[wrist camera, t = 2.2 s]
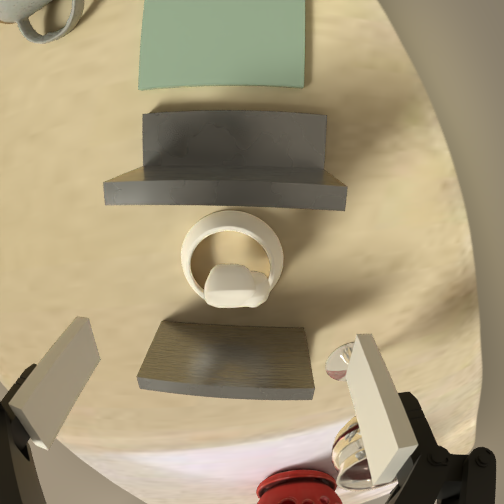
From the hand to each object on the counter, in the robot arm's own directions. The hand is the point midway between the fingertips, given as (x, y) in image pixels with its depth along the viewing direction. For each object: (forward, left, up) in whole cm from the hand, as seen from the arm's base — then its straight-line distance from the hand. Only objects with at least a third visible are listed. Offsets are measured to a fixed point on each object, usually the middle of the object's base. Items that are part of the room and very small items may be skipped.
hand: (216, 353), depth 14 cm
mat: (-18, -1, -10) cm, 21 cm away
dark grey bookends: (0, 0, -10) cm, 10 cm away
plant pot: (+35, +9, -10) cm, 37 cm away
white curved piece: (0, 0, -10) cm, 10 cm away
